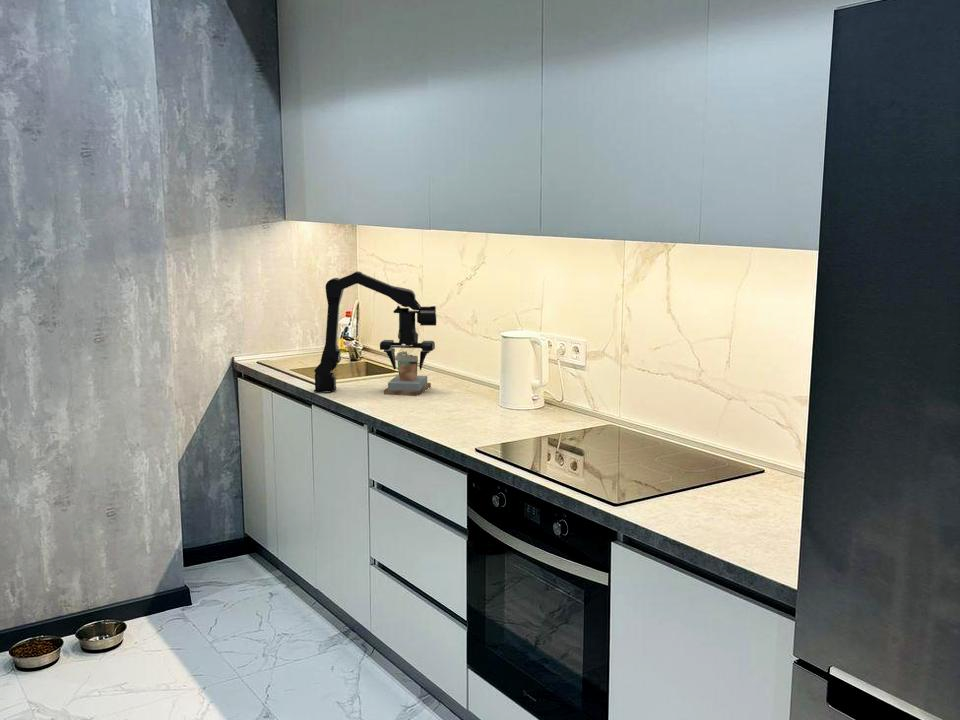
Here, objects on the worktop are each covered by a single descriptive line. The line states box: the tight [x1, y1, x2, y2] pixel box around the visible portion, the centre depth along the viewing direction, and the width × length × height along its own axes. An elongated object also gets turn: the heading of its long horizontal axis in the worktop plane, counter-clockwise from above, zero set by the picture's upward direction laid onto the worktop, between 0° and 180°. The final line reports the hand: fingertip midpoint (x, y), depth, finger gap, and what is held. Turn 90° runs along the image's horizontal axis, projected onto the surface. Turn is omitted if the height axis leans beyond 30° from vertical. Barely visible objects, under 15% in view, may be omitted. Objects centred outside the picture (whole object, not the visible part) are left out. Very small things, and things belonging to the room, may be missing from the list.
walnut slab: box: [383, 382, 432, 397], centre depth 347 cm, size 12×16×2 cm
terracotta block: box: [398, 364, 418, 381], centre depth 346 cm, size 5×5×5 cm
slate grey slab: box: [387, 374, 428, 391], centre depth 346 cm, size 11×15×2 cm
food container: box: [395, 351, 419, 374], centre depth 365 cm, size 12×6×10 cm, turn 25°
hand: (407, 369), depth 346 cm, fingers open, 9 cm apart
